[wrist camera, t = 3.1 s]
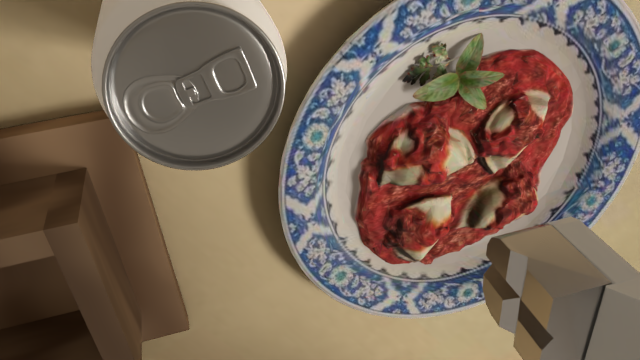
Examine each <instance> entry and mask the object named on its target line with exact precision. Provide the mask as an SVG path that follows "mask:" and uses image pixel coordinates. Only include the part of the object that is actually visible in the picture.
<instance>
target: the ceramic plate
mask: <svg viewBox="0 0 640 360" xmlns="http://www.w3.org/2000/svg"><path fill="white" fill-rule="evenodd" d="M639 150H640V25H639V23H638V21H637V19H636V18H635V16H634V14H633V12H632V11H631V9H630V8H629V7H628V6H627V4H626V3H625V2H624V1H623V0H394V1H392V2H391V3H390V4H388V5H387V6H386V7H384V8H383V9H381V10H380V11H379V12H377V13H376V14H375V15H373V16H372V17H371V18H370V19H369V20H368V21H367V22H366V23H364V24H363V25H362V26H361V27H360V28H359V29H358V30H357V31H356V32H354V33H353V34H352V35H351V36H350V37H349V38H348V39H347V40H346V41H345V42H344V43H343V44H342V46H341V47H340V48H339V49H338V50H337V52H336V53H335V54H334V55H333V56H332V58H331V59H330V60H329V61H328V63H327V64H326V65H325V66H324V67H323V69H322V70H321V72H320V73H319V75H318V76H317V78H316V79H315V81H314V82H313V84H312V85H311V87H310V88H309V90H308V92H307V94H306V95H305V97H304V99H303V101H302V103H301V105H300V107H299V108H298V111H297V113H296V116H295V118H294V120H293V123H292V125H291V127H290V130H289V134H288V137H287V141H286V144H285V147H284V151H283V154H282V158H281V166H280V175H279V184H278V197H279V211H280V217H281V223H282V227H283V231H284V235H285V238H286V241H287V243H288V246H289V248H290V250H291V253H292V255H293V256H294V258H295V259H296V261H297V263H298V264H299V266H300V268H301V269H302V270H303V272H304V273H305V274H306V276H307V277H308V278H309V279H310V280H311V281H312V282H313V283H314V284H315V285H316V286H317V287H318V288H320V289H321V290H322V291H323V292H325V293H326V294H327V295H329V296H330V297H331V298H333V299H335V300H337V301H338V302H340V303H342V304H344V305H347V306H349V307H351V308H353V309H356V310H359V311H362V312H365V313H368V314H372V315H378V316H384V317H392V318H409V319H415V318H425V317H433V316H440V315H445V314H450V313H455V312H459V311H463V310H466V309H469V308H472V307H475V306H478V305H481V304H484V303H486V302H485V297H484V293H483V276H484V273H485V272H486V271H487V270H488V268H489V267H490V266H491V264H492V263H491V261H490V260H489V259H488V258H487V256H486V251H487V244H488V242H489V241H490V239H491V237H495V236H499V235H503V234H506V233H510V232H514V231H518V230H522V229H525V228H529V227H533V226H537V225H543V224H545V223H548V222H552V221H556V220H559V219H563V218H567V217H574V218H576V219H579V220H580V221H581V222H582V223H584V224H585V225H586V226H587V227H588V228H589V229H591V228H592V227H593V226H594V225H595V224H596V223H597V221H598V220H599V219H600V217H601V216H602V215H603V213H604V212H605V211H606V209H607V208H608V207H609V205H610V204H611V203H612V201H613V200H614V198H615V197H616V196H617V194H618V192H619V191H620V189H621V187H622V185H623V184H624V182H625V180H626V178H627V176H628V174H629V173H630V171H631V169H632V167H633V164H634V162H635V160H636V158H637V155H638V153H639Z"/></svg>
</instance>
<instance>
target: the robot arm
mask: <svg viewBox="0 0 640 360" xmlns="http://www.w3.org/2000/svg"><path fill="white" fill-rule="evenodd" d="M486 256H487V258H488V259H489V260H490V261H491V263H492V264H491V266H490V267H489V268H488V270H487V271H486V272H485V273H484V276H483V293H484V297H485V302H486V305H487V307H488V309H489V311H490V313H491V315H492V317H493V318H494V320H495V321H496V323H497V324H498V325H499V327H501V328H503V329H505V330H508V331H510V332H512V333H514V345H513V346H514V348H515V349H516V351H517V352H518V353H519V355H520V356H521V357H522V359H523V360H640V273H639V272H638V271H637V270H636V269H634V268H633V267H632V266H631V265H630V264H629V263H628V262H627V261H625V260H624V259H623V258H622V257H621V256H620V255H619V254H617V253H616V252H615V251H614V250H613V249H612V248H611V247H610V246H608V245H607V244H606V243H605V242H604V241H603V240H602V239H601V238H599V237H598V236H597V235H596V234H595V233H594V232H593V231H591V230H590V229H589V228H588V227H587V226H586V225H585V224H584V223H582V222H581V221H580V220H579V219H576V218H574V217H567V218H563V219H559V220H556V221H552V222H548V223H545V224H543V225H537V226H533V227H529V228H525V229H522V230H518V231H514V232H510V233H506V234H503V235H499V236H495V237H491V239H490V241H489V242H488V244H487V251H486Z"/></svg>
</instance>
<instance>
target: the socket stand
mask: <svg viewBox="0 0 640 360" xmlns="http://www.w3.org/2000/svg"><path fill="white" fill-rule="evenodd" d="M186 330H189V321H188V315H187V311H186V308H185V305H184V302H183V299H182V295H181V292H180V289H179V286H178V283H177V279H176V276H175V273H174V270H173V267H172V263H171V260H170V257H169V254H168V250H167V247H166V244H165V241H164V238H163V234H162V231H161V228H160V225H159V222H158V218H157V215H156V212H155V209H154V206H153V202H152V199H151V196H150V193H149V189H148V186H147V183H146V180H145V177H144V173H143V170H142V167H141V164H140V161H139V157H138V154H137V152H136V151H135V150H134V149H132V148H131V147H130V146H129V145H128V144H127V143H126V142H125V141H124V140H123V139H122V138H121V137H120V135H119V134H118V133H117V131H116V130H115V128H114V127H113V125H112V123H111V121H110V119H109V117H108V116H107V114H106V113H105V111H104V110H101V111H95V112H90V113H84V114H79V115H74V116H68V117H63V118H57V119H52V120H47V121H41V122H36V123H31V124H25V125H20V126H14V127H9V128H4V129H0V360H142V342H143V341H147V340H151V339H155V338H159V337H163V336H166V335H170V334H174V333H178V332H182V331H186Z"/></svg>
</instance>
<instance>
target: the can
mask: <svg viewBox="0 0 640 360" xmlns="http://www.w3.org/2000/svg"><path fill="white" fill-rule="evenodd" d="M91 68H92V78H93V83H94V88H95V91H96V94H97V97H98V99H99V102H100V104H101V106H102V108H103V110H104V111H105V113H106V114H107V116H108V117H109V119H110V121H111V123H112V125H113V127H114V128H115V130H116V131H117V133H118V134H119V135H120V137H121V138H122V139H123V140H124V141H125V142H126V143H127V144H128V145H129V146H130V147H131V148H132V149H134V150H135V151H136V152H138V153H139V154H140V155H142V156H144V157H145V158H147V159H149V160H151V161H153V162H155V163H158V164H160V165H163V166H167V167H170V168H175V169H181V170H208V169H214V168H218V167H222V166H225V165H228V164H231V163H233V162H235V161H237V160H239V159H241V158H243V157H245V156H246V155H248V154H249V153H251V152H252V151H253V150H255V149H256V148H257V147H258V146H259V145H260V144H261V143H262V142H263V141H264V140H265V139H266V138H267V137H268V135H269V134H270V133H271V131H272V130H273V128H274V126H275V125H276V123H277V121H278V119H279V116H280V114H281V111H282V108H283V104H284V99H285V85H286V78H287V61H286V54H285V49H284V46H283V42H282V39H281V36H280V34H279V31H278V29H277V27H276V25H275V24H274V22H273V20H272V18H271V17H270V15H269V13H268V12H267V10H266V9H265V7H264V6H263V4H262V3H261V1H260V0H102V4H101V9H100V13H99V18H98V22H97V27H96V31H95V36H94V41H93V48H92V57H91Z"/></svg>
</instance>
